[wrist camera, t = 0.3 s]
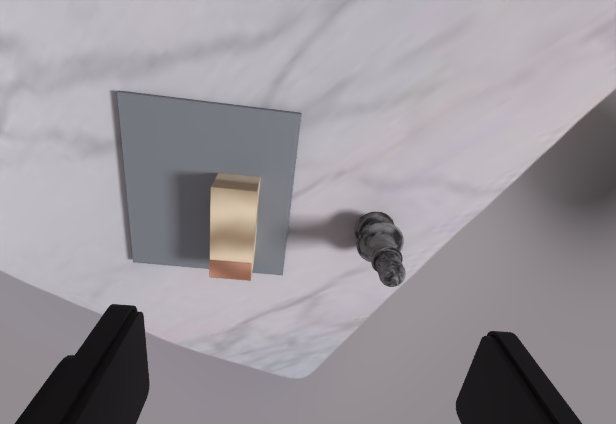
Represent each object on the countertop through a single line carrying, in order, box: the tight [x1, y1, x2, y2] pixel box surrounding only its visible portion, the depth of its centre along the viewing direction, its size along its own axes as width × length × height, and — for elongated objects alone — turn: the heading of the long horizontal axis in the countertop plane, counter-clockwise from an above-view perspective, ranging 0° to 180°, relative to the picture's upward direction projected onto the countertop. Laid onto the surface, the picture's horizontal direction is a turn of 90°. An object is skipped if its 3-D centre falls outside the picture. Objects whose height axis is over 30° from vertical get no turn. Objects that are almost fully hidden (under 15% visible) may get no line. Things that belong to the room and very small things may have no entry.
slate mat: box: [117, 91, 301, 275], centre depth 46 cm, size 22×20×1 cm
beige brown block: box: [209, 173, 260, 281], centre depth 45 cm, size 12×5×5 cm, turn 173°
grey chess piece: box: [355, 212, 406, 287], centre depth 44 cm, size 6×6×12 cm
